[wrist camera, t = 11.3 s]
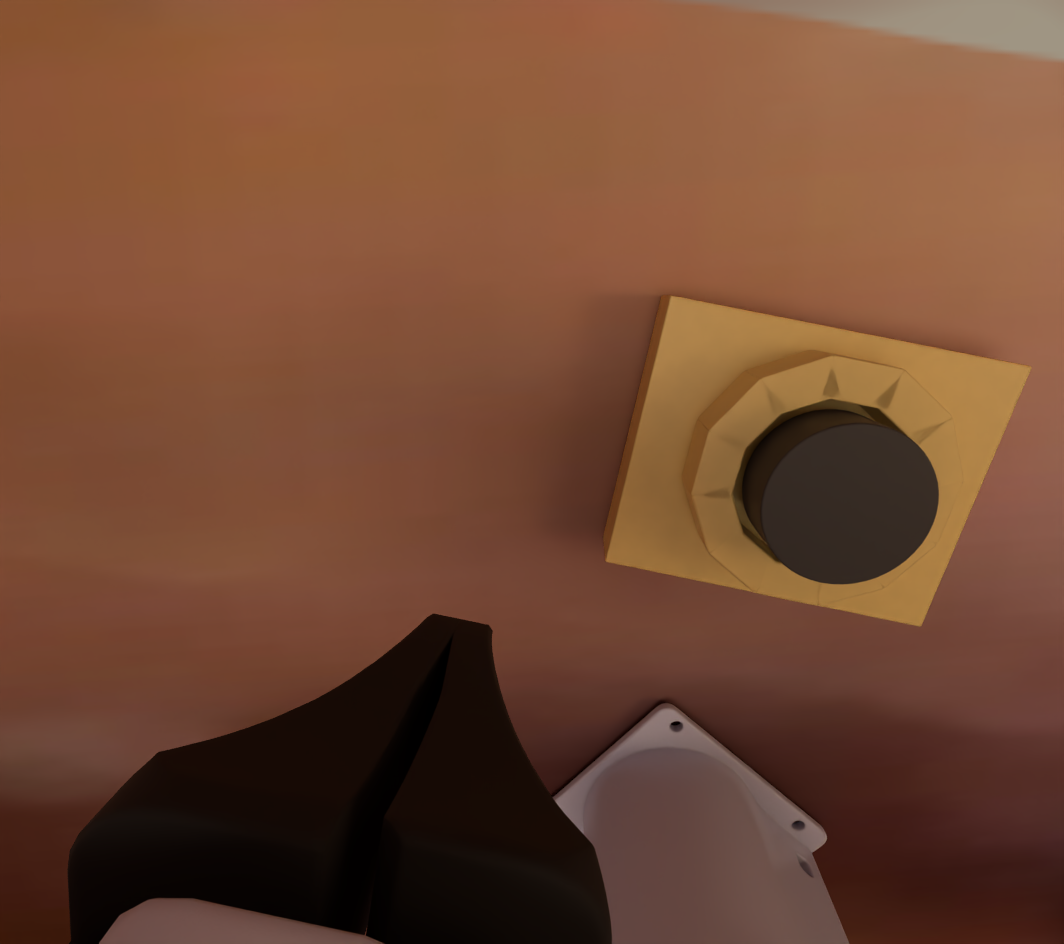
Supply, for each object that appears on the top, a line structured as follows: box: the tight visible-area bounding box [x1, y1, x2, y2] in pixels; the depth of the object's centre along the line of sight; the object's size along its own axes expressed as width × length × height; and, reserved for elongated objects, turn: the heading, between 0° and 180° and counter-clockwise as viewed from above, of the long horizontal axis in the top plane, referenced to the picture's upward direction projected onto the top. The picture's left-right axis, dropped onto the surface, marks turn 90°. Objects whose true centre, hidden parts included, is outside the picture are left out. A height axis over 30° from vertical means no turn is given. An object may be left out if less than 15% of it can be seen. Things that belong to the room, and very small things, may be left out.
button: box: [742, 409, 939, 585], centre depth 17 cm, size 5×5×2 cm
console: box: [603, 295, 1031, 626], centre depth 20 cm, size 11×9×4 cm
